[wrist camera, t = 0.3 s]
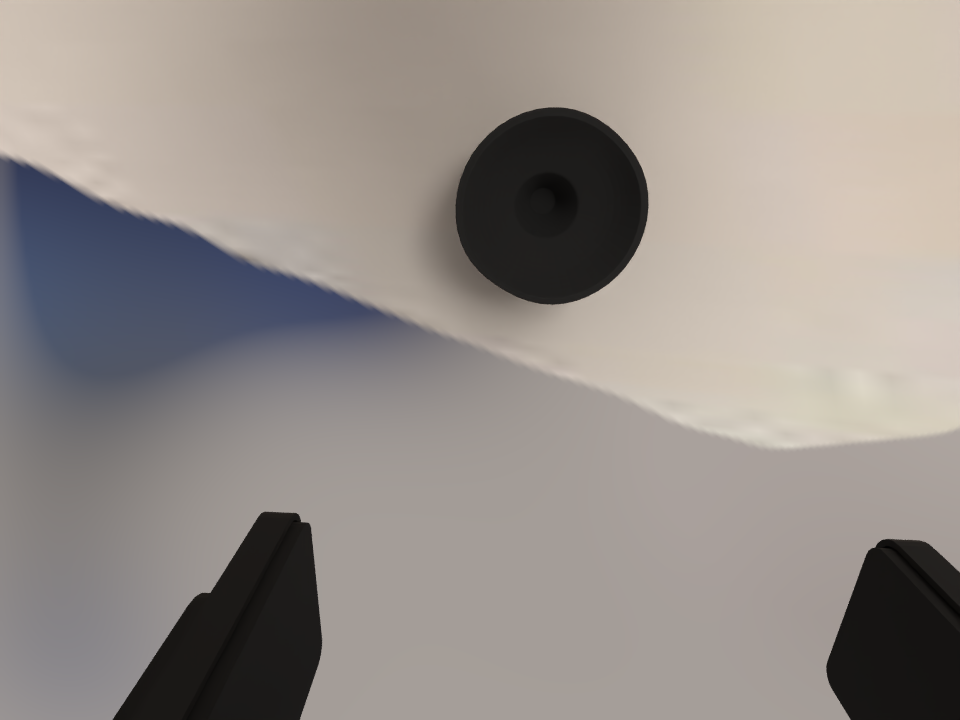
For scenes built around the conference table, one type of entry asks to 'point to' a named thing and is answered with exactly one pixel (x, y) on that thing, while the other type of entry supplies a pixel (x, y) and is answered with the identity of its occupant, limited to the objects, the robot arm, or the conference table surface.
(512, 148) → the pen holder
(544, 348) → the conference table surface
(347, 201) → the conference table surface
